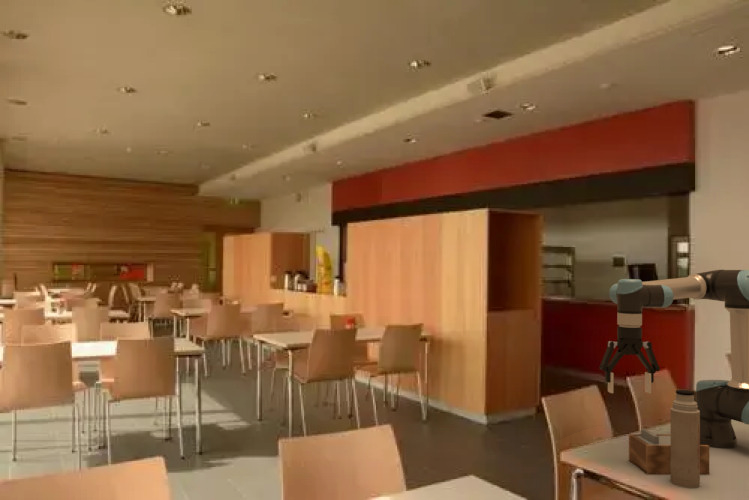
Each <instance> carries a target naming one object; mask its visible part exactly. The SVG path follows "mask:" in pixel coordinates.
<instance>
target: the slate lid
mask: <svg viewBox="0 0 749 500" xmlns="http://www.w3.org/2000/svg"><path fill="white" fill-rule="evenodd" d="M640 434H641V436H635V437H637V438H639V439H640V440H642V441H643V442H645V443H647V444H648V445H671V436H657V435H655V434H656V433H653V432H652V431H650V430H649V429H646V428H640Z"/></svg>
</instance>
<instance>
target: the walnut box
mask: <svg viewBox="0 0 749 500" xmlns="http://www.w3.org/2000/svg"><path fill="white" fill-rule="evenodd" d="M654 434H655V435H657V436H671V433H670V434H669V433H668V434H667V433H666V434H665V433H660V434H658V433H657V434H656V433H654ZM635 436H641V433H639V434H636V433H635V434H634V433H632V434H631V433H630V434H628V462H630V463H631V464H632V465H634V466H635V467H636V468H637V469H639V470H641V472H643V473H644V474H646V475H648V476H649V475H651V476H652V475H657V476H658V475H660V476H661V475H666V476H668V475H669V476H670V464H671V445H648V444H647V443H645V442H643V441H642V440H640V439H639V438H637V437H635ZM700 475H710V446H709V445H702V444H700Z"/></svg>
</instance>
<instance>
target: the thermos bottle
mask: <svg viewBox="0 0 749 500" xmlns="http://www.w3.org/2000/svg"><path fill="white" fill-rule="evenodd" d="M675 393H676V395H675V399H674V400H673V401H672V404H671V405H672V406H671V407H670V434H671V464H670V475H669V476H670V477H669V478H670V483H672V484H673V485H675V486H677V485H678V487H682V488H686V487H688V489H696V488H699V487H700V486H701V484H700V483H701V476H700V445H701V444H700V411H699V410H698V409H697V407H698V406H697V403H696V400H695V397H694V396H695V393H694V391H692V390H688V389H687V390H686V389H677V390H675Z"/></svg>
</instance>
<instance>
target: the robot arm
mask: <svg viewBox="0 0 749 500" xmlns="http://www.w3.org/2000/svg"><path fill="white" fill-rule="evenodd" d="M608 295H609V299H610V300H611V302H613V303H614V304H617V306H616V307H617V319H616V322H617V323H616V325H618V326H617V328H616V330H617V331H616V337H617V339H616V341H612V340H608V341H607V345H606V347H607V348H606V350H605V352H604V354H603V357H602V360H601V362H600V364H599V367H598V368H599V370H601V371H603V372H604V375H605V377H604V380H605V382H606V383H607V392H608V393H610V394H614V376H615V375H614V372H612V371H613V370H614V369H615V367H616V366H617V364H618V363H619V361H620V360H621V358H622V357H624V356H629V355H632V356H636V357H637V358H638V359H639V361H640V362H641V364H642V365H643V366H644V368H645V370H646V371H645V372H644V392H645V393H647V394H652V384H654V383H655V382H654V381H655V379H654V378H655V376H654V375H655V373H657V372H660V370H661V369H660V366H659V364H658V363H659V362H658V361H657V359H656V356H655V354H654V351H653V343H652V342H650V341H647V340H646V341H643V340H642V339H643V328H642V327H641V326H642V325H643V309H645V308H646V309H647V308H656V309H657V308H659V309H661V308H667V307H670V306H671V304H673V301H674V300H679V299H681V300H682V299H688V298H689V299H693V300H696V301H697V300H707V301H709V300H711V301H718V302H724V309H725V310H727V311H728V312H729V331H730V336H729V337H730V357H731V358H730V359H731V360H730V361H731V362H730V363H731V367H730V369H731V379H730V380H727V379H726V380H725V379H703V380H699V381H697V382H696V384H695V385H696V386H695V387H696V388H695V402H696V403H697V406H698V407H697V409H698V410H699V411H700V445H709V447H712V448H723V449H725V448H727V449H728V448H729V449H730V448H736V447H737V445H738V439H737V435H736V432H735V430H734V427H733V424H732V420H733V421H736V422H738V423H739V422H740V423H743V424H744V425H748V426H749V269H714V270H710V271H709V270H708V271H703V272H698V273H692V274H689V275H688V276H687V277H685V276H684V277H677V278H667V279H657V280H649V281H648V280H647V281H642V280H641V279H640V278H639V279H636V278H633V279H632V278H630V279H629V278H622V279H619V280H618V281H617V283H614V284H613V285H612V286H610V289H609V294H608ZM642 347H643V348H644V349H645V352H646V355H647V358H648V359H647V358H646V356H645V355H644V353H643V352H642V350H641V349H642ZM616 348H618V349H617V350H616V351H615V354H614V355H613V352H614V349H616ZM612 355H613V356H612ZM611 357H612V358H611Z"/></svg>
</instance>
